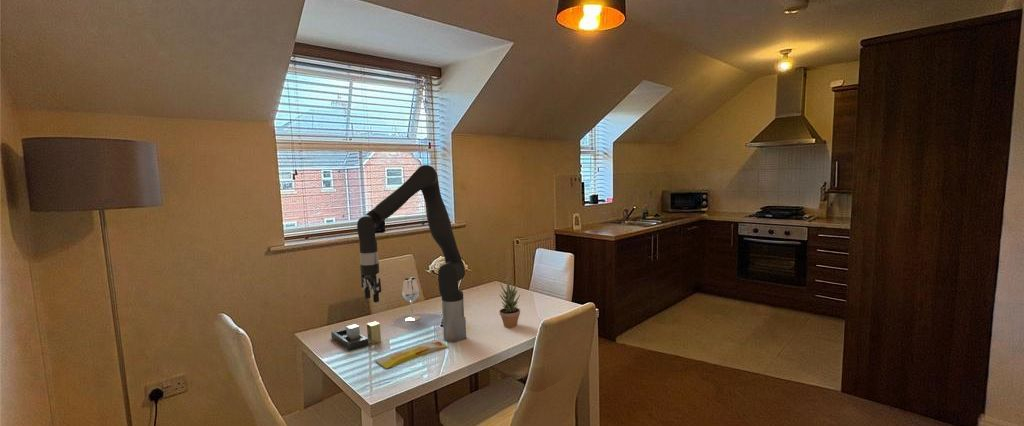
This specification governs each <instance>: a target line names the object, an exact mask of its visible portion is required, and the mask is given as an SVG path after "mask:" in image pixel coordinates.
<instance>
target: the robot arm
mask: <svg viewBox="0 0 1024 426" xmlns="http://www.w3.org/2000/svg"><path fill="white" fill-rule="evenodd" d="M420 191H421V194H422V195H423V200H424V205H425V215H426V220H427V224H428V228H429V231H430V234H431V236H432V239H434V241H435V243H436V244H437V245H438V247H439V248H440V249H441V251H442V254H443V257H444V258H443V259H444V261H445V263H443V264H441V265H440V267H438V270H437V281H438V290H439V295H440V297H441V313H442V314H441V315H442V330H443V331H442V335H443V340H444V341H446V342H450V343H451V342H452V343H457V342H460V341H463V340H465V339H467V321H466V317H465V305H464V304H465V303H464V302H465V301H464V300H465V299H464V292H463V291H462V290H461V289H460V287H459V282H460V281H462V280H463V278H465V275H466V268H465V264H464V261H463V259H462V256H461V254H460V251H459V249H458V246H457V242H456V238H455V236H454V231H453V228H452V224H451V219H450V217H449V213H448V210H447V207H446V205H445V203H444V200H443V198H442V195H441V194H442V193H441V189H440V184H439V175H438V173H437V171H436V169H435V167H433V166H431V165H429V164H423V165H420V166H419V167H418V168H417V169H416V170H415V171H414V172H413V173H412V174H411V175H410V177H409V178H408V179H407V180H406V181H405V182H403V183H402V184H401V185H400V186H399V187H398V188H397V189H396V190H394V191H393V192H392V193H390V194H389V195H388V196H386V197H385V198H383V200H381V201H380V202H379V203H378V204H376V205H375V206H374V208H372V209H371V210H370V211H368V212H367V213H366V214H364V215H362V216H361V217H359V219H358V220H357V222H356V223H357V224H356V228H357V229H356V230H357V236H358V240H359V264H360V265H359V267H360V282H361V288H363V291H364V299H366V300H367V299H370V298H371V291H372V301H373V303H374V304H375V303H379V301H380V293H382V284H381V283H382V281H381V278H380V277H378V278H377V275H378V274H379V273H380V260H379V259H380V258H379V253H378V242H377V239H376V228H377V227H379V225H380V224H382V222H383V221H385V220H387V219H388V218H390V217H392V215H393V214H395V213H396V212H397V211H398V210H400V209H401V208H402V207H403V205H404V204H405V203H407V201H408V200H410V199H411V198H412V197H413V196H414V195H416V194H417V193H418V192H420Z"/></svg>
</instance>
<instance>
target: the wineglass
mask: <svg viewBox="0 0 1024 426" xmlns="http://www.w3.org/2000/svg"><path fill="white" fill-rule="evenodd" d="M419 295H420V291H419V285H418V281H417V278H416V277H406V278H404V279H403V285H402V297H403V298H404V300H405V301H406V302H408V303H409V304H410V316H406V317H405V318H404V321H405V322H414V321H418V320H420V318H421V316H420V315H414V313H413V302H415V301H416V300H417V299H418V298H419Z"/></svg>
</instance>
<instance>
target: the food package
mask: <svg viewBox="0 0 1024 426" xmlns="http://www.w3.org/2000/svg"><path fill="white" fill-rule="evenodd" d="M447 347H448V345H447V344H445V343H443V342H440V340H439V341H438V340H437V339H433V340H428V341H425V342H421V343H418V344H415V345H412V346H409V347H406V348H403V349H401V350H397V351H395V352H390V353H389V354H386V355H385V356H382V357H378V358H376V359H374V361H375V362H376V363H377V364H379V365H381V366H382V367H384V368H385V369H389V368H392V367H394V366H399V365H400V364H403V363H405V362H408V361H410V360H414V359H416V358H419V357H422V356H425V355H428V354H431V353H434V352H436V351H440V350H442V349H445V348H447Z"/></svg>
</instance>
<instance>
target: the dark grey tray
mask: <svg viewBox="0 0 1024 426" xmlns="http://www.w3.org/2000/svg"><path fill="white" fill-rule="evenodd" d="M330 335H331V339H332V338H333V339H334V340H333V339H332V340H333V341H335V342H336V341H337V342H336V343H338V344H339V345H341V346H342V347H343V348H344V349H346V350H347V351H349V352H351V351H355V350H358V349H362V348H366V347H367V346H369V344H370V343H369V342H368V336H367V337H366V336H365V335H363V334H362V333H360V339H357V340H354V341H350V342H349V341H347V332H346V327H344V328H340V329H337V330H336V329H335V330H333V331H331V332H330Z"/></svg>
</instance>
